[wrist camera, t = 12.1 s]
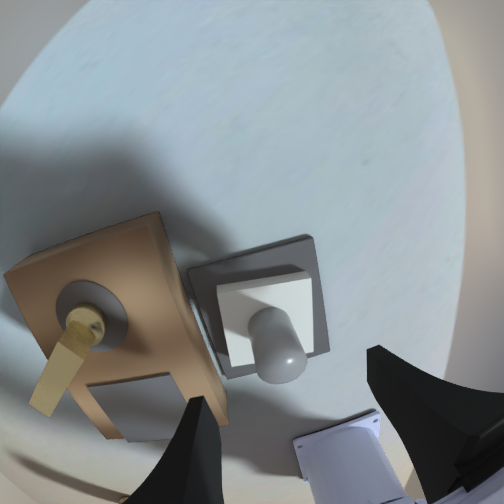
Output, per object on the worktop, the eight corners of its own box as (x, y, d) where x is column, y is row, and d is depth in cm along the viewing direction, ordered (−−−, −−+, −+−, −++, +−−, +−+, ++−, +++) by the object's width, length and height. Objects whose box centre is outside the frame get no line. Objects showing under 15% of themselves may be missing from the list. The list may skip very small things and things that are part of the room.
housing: (227, 395, 20) (230, 429, 17) (115, 412, 20) (107, 443, 17) (158, 211, 15) (146, 226, 12) (28, 255, 15) (1, 276, 12)
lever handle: (80, 294, 13) (59, 322, 10) (114, 318, 13) (99, 350, 11) (40, 372, 14) (24, 400, 12) (67, 390, 15) (53, 420, 12)
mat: (328, 348, 20) (329, 351, 19) (227, 376, 19) (227, 379, 19) (311, 236, 17) (313, 238, 17) (187, 269, 17) (186, 271, 16)
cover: (309, 342, 19) (331, 390, 15) (230, 356, 18) (236, 409, 14) (306, 270, 17) (334, 310, 13) (216, 285, 17) (218, 331, 13)
